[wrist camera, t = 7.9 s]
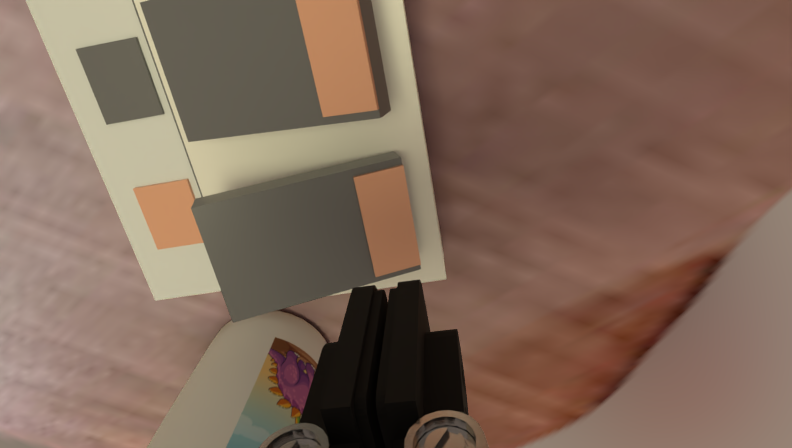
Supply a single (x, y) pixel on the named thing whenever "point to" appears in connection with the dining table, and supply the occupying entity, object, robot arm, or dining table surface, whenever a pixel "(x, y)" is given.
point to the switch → (309, 234)
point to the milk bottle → (245, 385)
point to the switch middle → (268, 63)
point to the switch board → (124, 140)
